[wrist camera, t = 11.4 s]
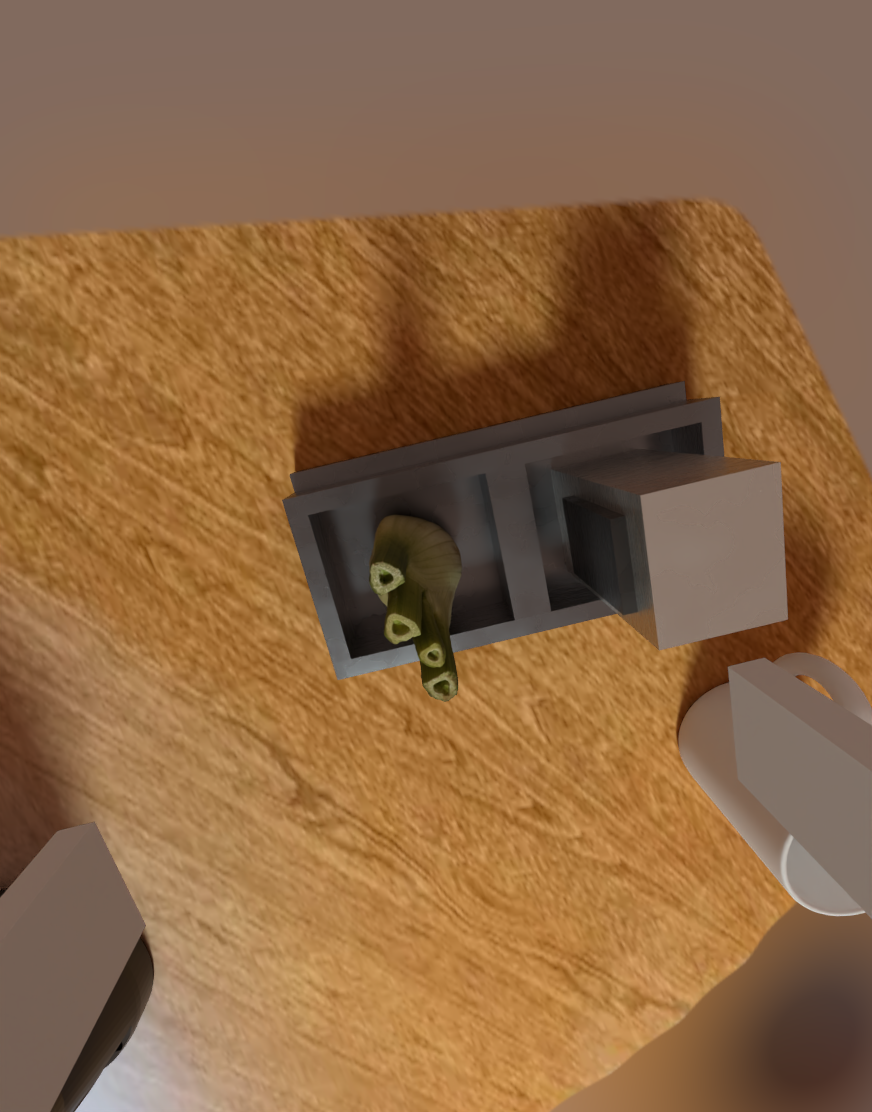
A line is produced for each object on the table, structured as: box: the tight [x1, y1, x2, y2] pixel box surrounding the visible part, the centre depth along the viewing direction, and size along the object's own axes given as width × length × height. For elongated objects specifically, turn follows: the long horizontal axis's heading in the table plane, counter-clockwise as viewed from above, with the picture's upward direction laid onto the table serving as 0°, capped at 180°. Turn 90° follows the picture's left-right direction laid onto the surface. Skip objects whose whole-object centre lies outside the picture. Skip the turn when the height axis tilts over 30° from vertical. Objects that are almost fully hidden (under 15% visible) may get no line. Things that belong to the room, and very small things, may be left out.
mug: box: [678, 652, 872, 916], centre depth 29 cm, size 12×8×10 cm
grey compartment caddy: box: [282, 381, 788, 680], centre depth 24 cm, size 22×12×12 cm, turn 103°
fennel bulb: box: [369, 515, 462, 702], centre depth 23 cm, size 6×5×12 cm
